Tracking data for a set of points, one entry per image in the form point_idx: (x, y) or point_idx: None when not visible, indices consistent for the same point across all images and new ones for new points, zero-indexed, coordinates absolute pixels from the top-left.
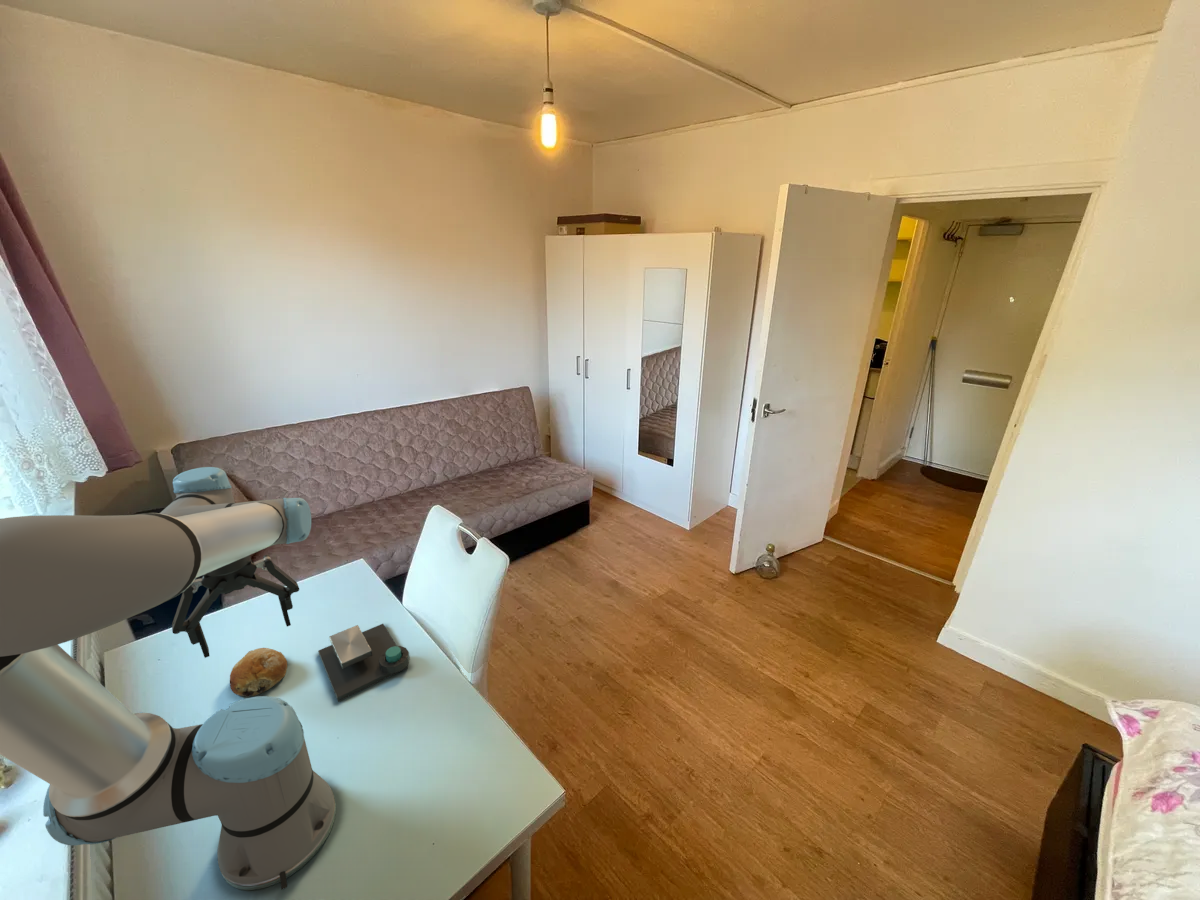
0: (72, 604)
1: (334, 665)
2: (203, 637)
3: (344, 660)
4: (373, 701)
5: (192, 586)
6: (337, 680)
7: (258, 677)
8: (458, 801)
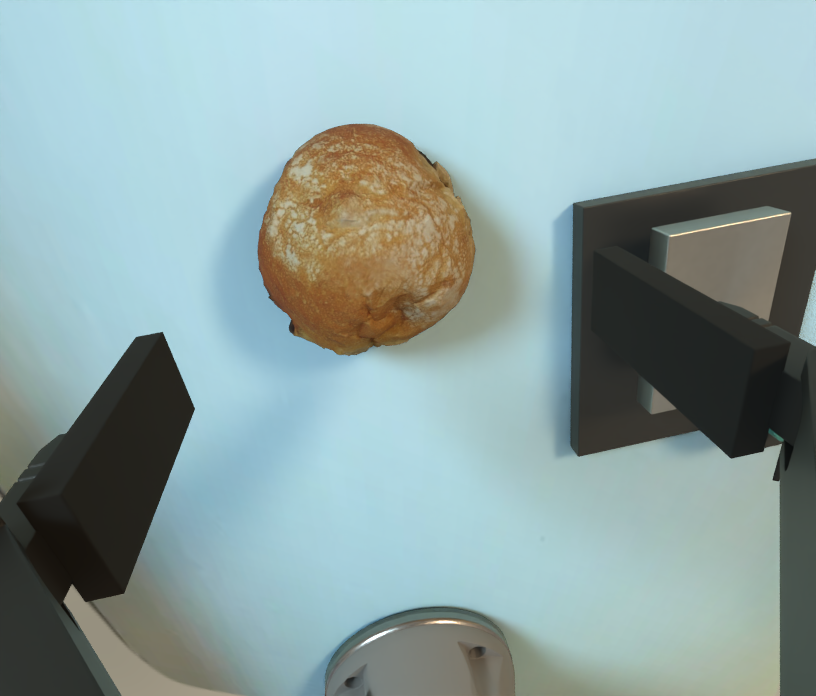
0: None
1: None
2: (147, 488)
3: (665, 405)
4: (643, 474)
5: None
6: (597, 394)
7: (379, 342)
8: (666, 685)
